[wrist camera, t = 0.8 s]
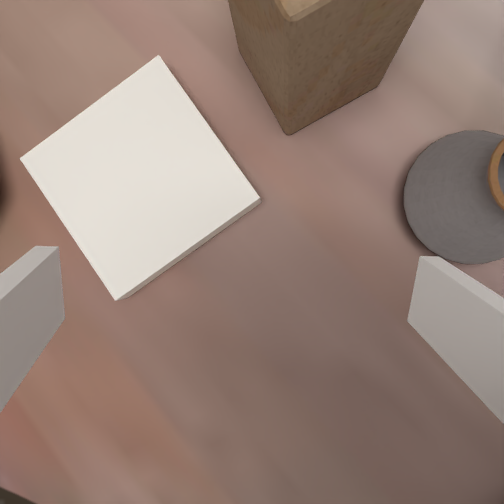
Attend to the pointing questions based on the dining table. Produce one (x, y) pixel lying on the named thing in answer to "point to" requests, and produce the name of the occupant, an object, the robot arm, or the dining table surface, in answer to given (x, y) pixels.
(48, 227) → the dining table surface
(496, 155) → the coffee pot
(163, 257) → the white square plate
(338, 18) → the wooden block
